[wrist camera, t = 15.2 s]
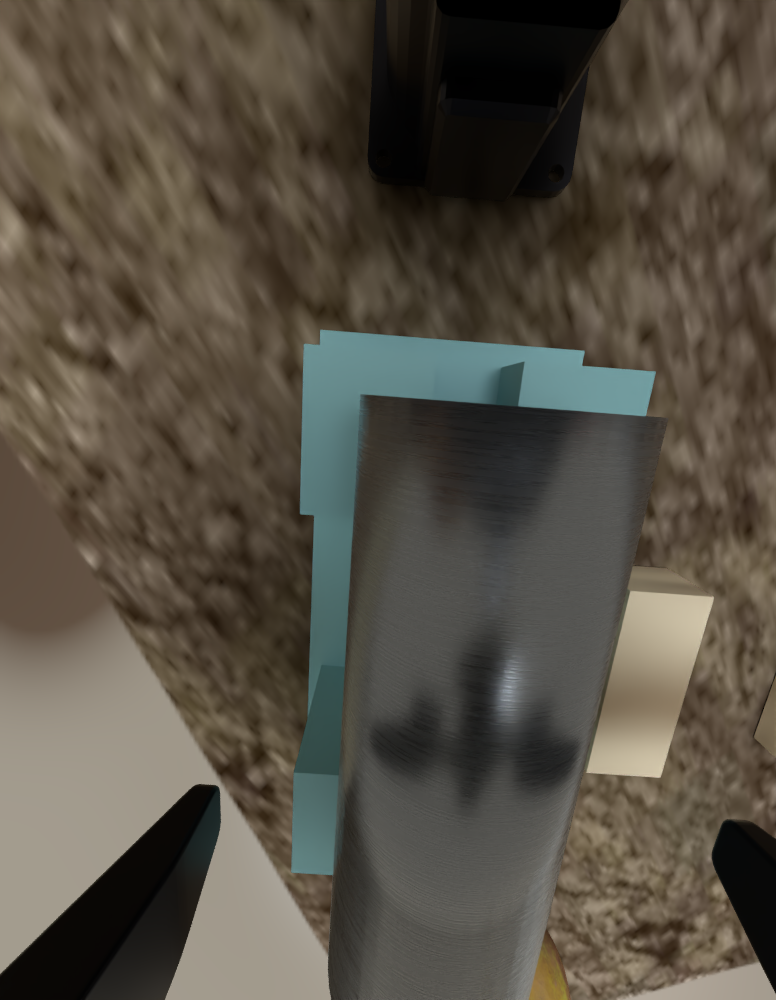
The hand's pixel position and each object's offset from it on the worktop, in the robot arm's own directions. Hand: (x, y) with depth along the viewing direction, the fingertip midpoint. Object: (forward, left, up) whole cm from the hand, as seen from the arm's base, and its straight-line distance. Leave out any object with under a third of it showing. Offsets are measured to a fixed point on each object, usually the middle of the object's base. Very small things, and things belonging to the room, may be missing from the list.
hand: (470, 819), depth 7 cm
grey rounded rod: (0, 0, -4) cm, 4 cm away
